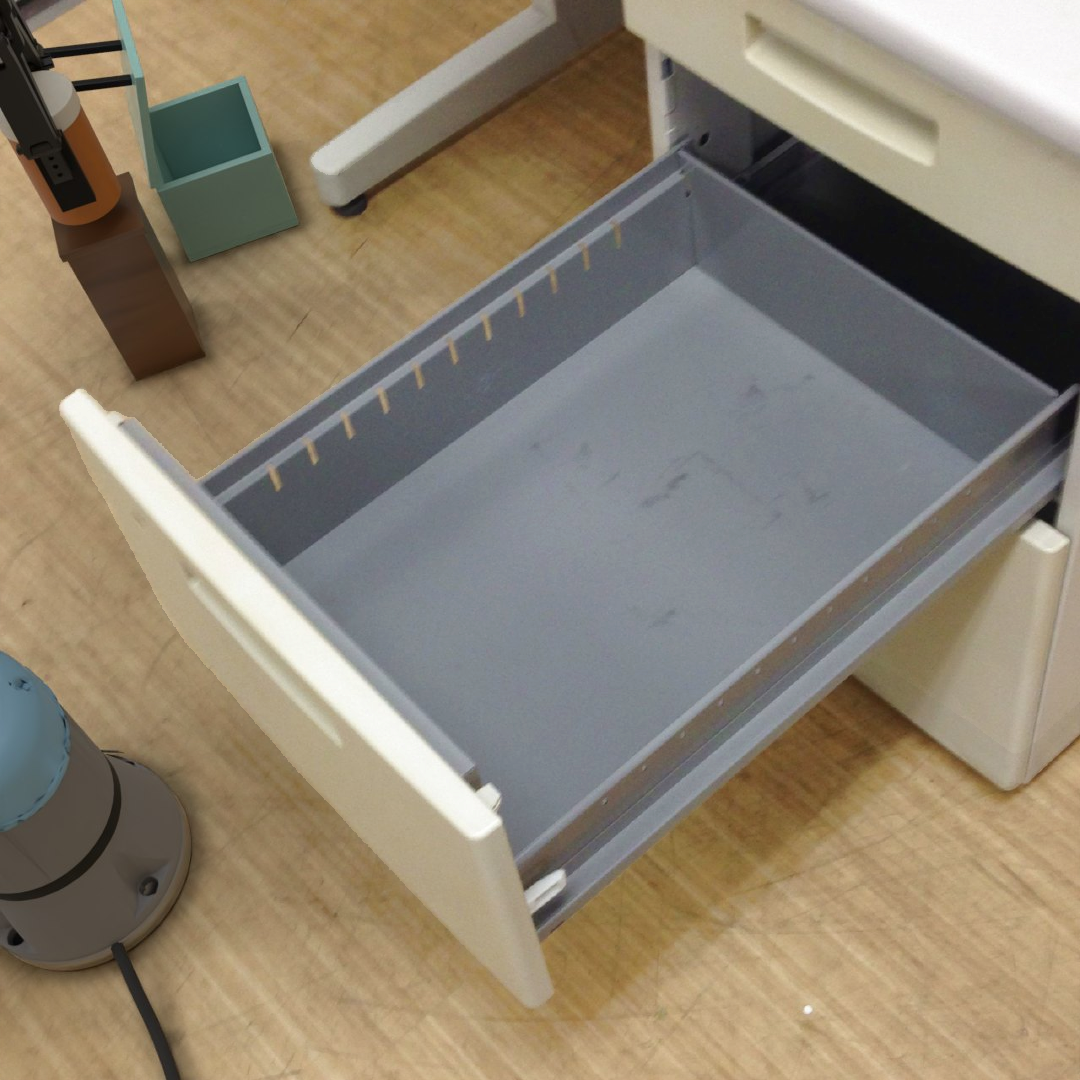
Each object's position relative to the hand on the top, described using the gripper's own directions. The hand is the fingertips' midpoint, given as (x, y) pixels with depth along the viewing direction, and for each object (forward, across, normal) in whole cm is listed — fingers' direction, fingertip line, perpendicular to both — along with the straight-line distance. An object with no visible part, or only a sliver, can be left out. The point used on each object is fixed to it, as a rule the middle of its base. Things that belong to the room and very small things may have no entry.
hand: (72, 175), depth 118 cm
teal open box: (+20, +15, -10) cm, 27 cm away
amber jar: (+2, 0, 0) cm, 2 cm away
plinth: (+20, 0, 0) cm, 20 cm away
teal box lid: (+5, +15, -6) cm, 17 cm away
